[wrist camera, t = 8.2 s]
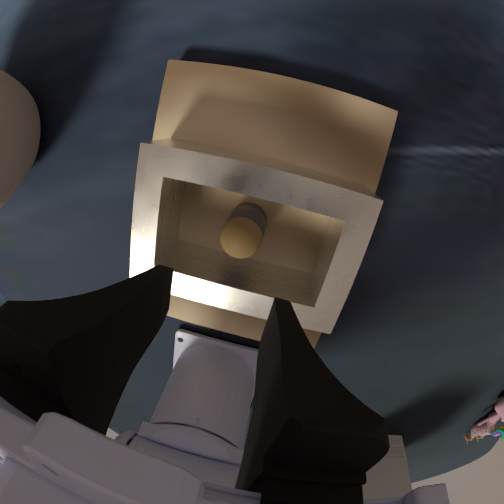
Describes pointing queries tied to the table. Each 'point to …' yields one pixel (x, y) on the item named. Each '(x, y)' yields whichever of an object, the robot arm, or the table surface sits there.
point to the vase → (16, 134)
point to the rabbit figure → (489, 423)
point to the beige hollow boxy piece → (247, 269)
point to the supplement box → (389, 473)
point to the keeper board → (272, 146)
